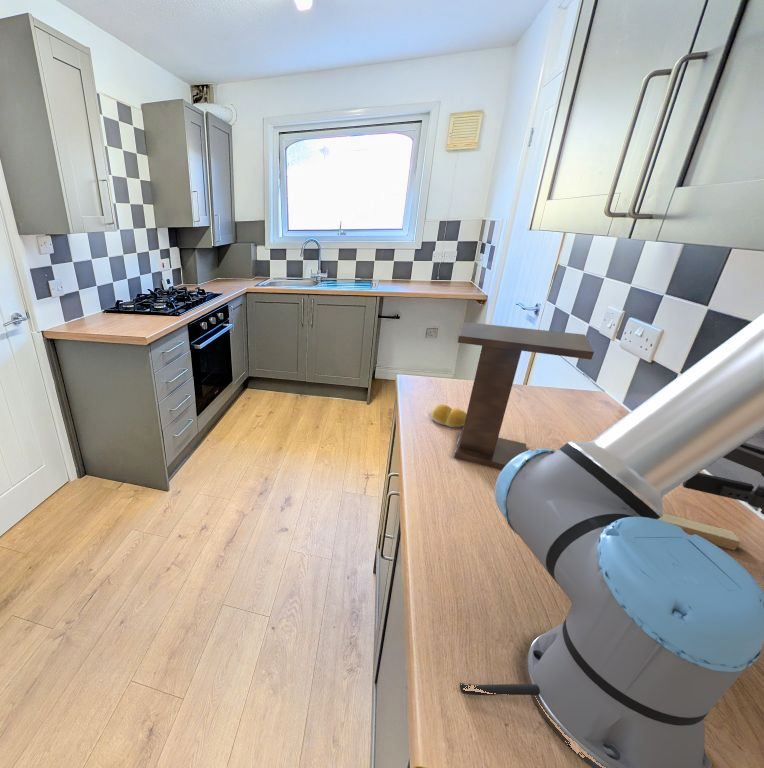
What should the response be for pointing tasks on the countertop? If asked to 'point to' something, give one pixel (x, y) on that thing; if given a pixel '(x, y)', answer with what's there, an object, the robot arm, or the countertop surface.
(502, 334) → the shelf stand
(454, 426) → the bread roll
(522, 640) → the countertop surface
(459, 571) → the countertop surface
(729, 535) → the kitchen knife
